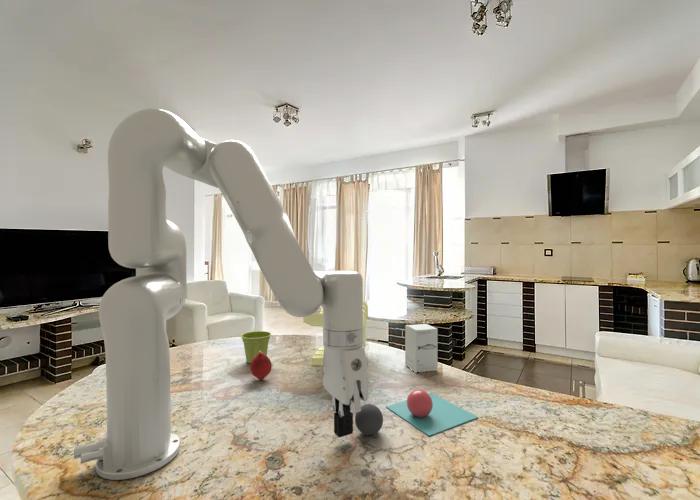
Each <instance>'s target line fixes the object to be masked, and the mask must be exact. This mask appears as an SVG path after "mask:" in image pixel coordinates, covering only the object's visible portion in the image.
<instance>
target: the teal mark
mask: <svg viewBox="0 0 700 500" xmlns="http://www.w3.org/2000/svg"><path fill="white" fill-rule="evenodd" d="M428 394H429V395H430V397H431V399H432V402H433V407H432V411H431V412H430V414H429V415H427V416H426V417H422V418H420V417H416V416H414V415H413V414H411V413H410V411H409V409H408V407H407V399H406V400H404V401H400V402H397V403H396V402H395V403H392V404H390V405H386V406H385V408H386V409H388V410H389V411H391V412H392V413H393V414H395V415H397V416H398V417H400V418H401V419H403V420H404V421H406V422H408V423H409V424H410V425H411V426H413V427H414V428H416V429H418V430H419V431H420V432H422V433H424V434H425V435H426V436H428V437H432V436H434V435H436V434H440V433H442V432H445V431H448V430H450V429H452V428H455V427H458V426H461V425H464V424H466V423H468V422H472V421H473V420H476V419H479V416H477V415H475V414H473V413H471V412H470V411H468V410H465V409H464V408H462V407H460V406H458V405H456V404H454V403H452V402H450V401H448V400H446V399H444V398H442V397H441V396H438V395H437V394H435V393H433V392H430V393H428Z"/></svg>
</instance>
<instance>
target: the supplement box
mask: <svg viewBox="0 0 700 500" xmlns="http://www.w3.org/2000/svg"><path fill="white" fill-rule="evenodd" d="M404 327H405V329H404V331H405V334H404V336H405V337H404V340H405V341H404V342H405V343H404V344H405V345H404V346H405V348H404V349H405V350H404V352H405V353H404V354H405V355H404V360H405V361H404V366H406V365H407V366H408V367H409V368H411V369H412V370H413V371H414V372H413V371H412V370H411V369H410V370H411V371H412V372H413V373H414V374H418V373H417V372H419V373H425V372H426V371H427V372H436V371H438V362H439V360H438V353H439V351H438V340H439V339H438V338H439V337H438V332H439V330H438V328H437V327H435V326H432V325H430V324H428V323H421V324H417V323H416V324H406V325H405V326H404ZM407 366H406V367H407ZM408 367H407V368H408ZM409 368H408V369H409ZM427 372H426V373H427Z"/></svg>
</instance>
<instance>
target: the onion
mask: <svg viewBox="0 0 700 500" xmlns="http://www.w3.org/2000/svg"><path fill="white" fill-rule="evenodd" d="M249 364H250V366H249V370H250V371H249V372H250V373H251V374H252V375H253V376H254V377H255V378H257V380H259V381H262V380H263V379H265V378H266V377H267V376H268V375H269V374H271V371H272V368H273V366H272V365H273V364H272V360H271V359H270V357H268V355H267V356H266V355H265V354H263V353H262V352H261V351H259V353H258V355H257V356H255V357H254V358H253V360H252V361H251V363H249Z"/></svg>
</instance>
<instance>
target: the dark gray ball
mask: <svg viewBox="0 0 700 500" xmlns="http://www.w3.org/2000/svg"><path fill="white" fill-rule="evenodd" d="M354 422H355V426H356V428H357V429H358V431H359V432H360V433H361V434H363V435H366V436H373V435H376V434H377V433H378V432H380V430H381V429H382V427H383V423H384V415H383V412H382V411H381V410H380V408H379V407H378V406H376V405H375V404H371V403H366V404H363V405H361V412H358V413H355V415H354Z"/></svg>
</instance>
